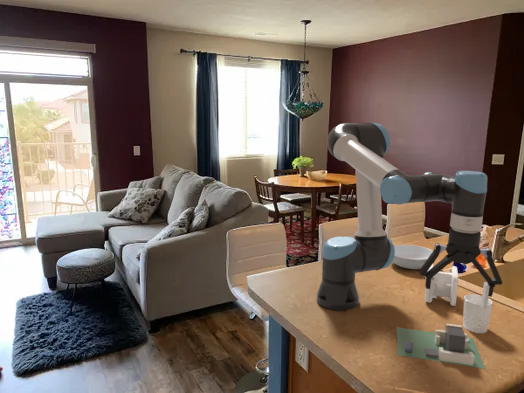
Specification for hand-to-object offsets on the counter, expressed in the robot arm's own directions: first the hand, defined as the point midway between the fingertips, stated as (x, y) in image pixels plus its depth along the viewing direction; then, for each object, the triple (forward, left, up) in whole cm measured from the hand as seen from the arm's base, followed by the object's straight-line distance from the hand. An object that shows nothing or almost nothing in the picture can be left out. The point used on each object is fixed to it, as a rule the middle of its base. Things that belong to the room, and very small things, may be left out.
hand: (456, 302), depth 110 cm
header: (0, 0, -15) cm, 15 cm away
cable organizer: (+1, +37, -16) cm, 40 cm away
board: (-4, +2, -15) cm, 16 cm away
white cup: (+9, +17, -15) cm, 24 cm away
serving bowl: (-7, +71, -16) cm, 73 cm away
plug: (0, -1, -15) cm, 15 cm away
